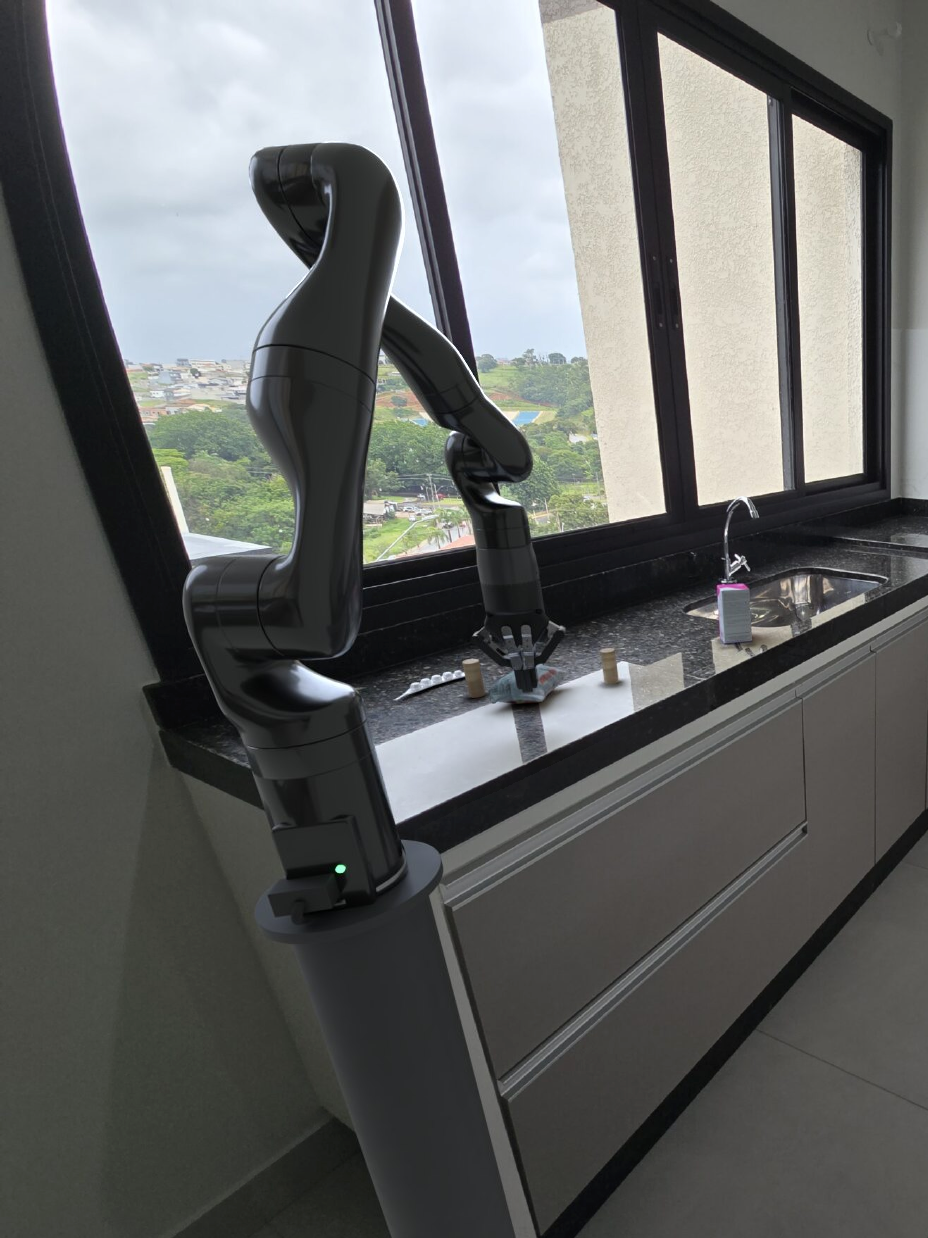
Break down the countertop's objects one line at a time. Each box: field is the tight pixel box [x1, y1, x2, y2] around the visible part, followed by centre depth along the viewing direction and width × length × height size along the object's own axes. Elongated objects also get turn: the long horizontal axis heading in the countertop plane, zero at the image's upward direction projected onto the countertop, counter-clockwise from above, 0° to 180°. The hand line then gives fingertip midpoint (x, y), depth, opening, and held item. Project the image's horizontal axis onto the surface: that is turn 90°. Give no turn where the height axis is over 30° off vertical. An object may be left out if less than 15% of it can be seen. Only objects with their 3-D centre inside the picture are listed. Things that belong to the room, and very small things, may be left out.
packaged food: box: [488, 663, 572, 705], centre depth 121 cm, size 9×12×5 cm
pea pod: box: [394, 669, 465, 702], centre depth 126 cm, size 15×4×2 cm, turn 151°
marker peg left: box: [462, 658, 486, 699], centre depth 122 cm, size 2×2×6 cm
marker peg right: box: [599, 647, 620, 685], centre depth 128 cm, size 2×2×6 cm
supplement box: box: [716, 583, 753, 646], centre depth 150 cm, size 6×6×12 cm
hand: (529, 690), depth 110 cm, fingers closed
